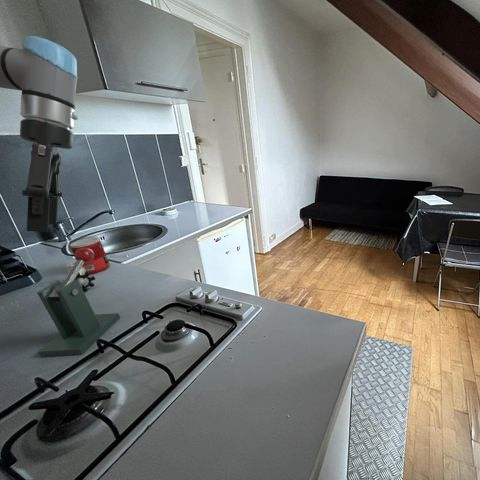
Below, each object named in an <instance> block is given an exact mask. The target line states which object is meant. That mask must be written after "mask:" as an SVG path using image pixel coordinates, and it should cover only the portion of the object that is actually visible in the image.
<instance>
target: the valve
mask: <svg viewBox="0 0 480 480" xmlns="http://www.w3.org/2000/svg"><path fill="white" fill-rule="evenodd" d="M76 262H77V260H76V261H72V262H69V263H67V264H66V266H65V267H66V268H67V270H68V273H67V274H68V275H69V273H70V271H71V270H72V268H73V267H74V265H75V263H76ZM74 280H78V281H79V283H80V285H81V287H82V289H83V291H84V293H87V292H88V288H89V287H90V288H93V287H95V283H94V281H95V280H96V277H95V276H94V275H93V276H91V277H90V274H89V272H86V270H85V269H84V268H83V267H82V268H81V269H80V271H79V273H78V274H77V276H76V278H75V279H74ZM87 281H88V282H87ZM92 281H93V282H92ZM86 282H87V283H86ZM85 283H86V285H85Z"/></svg>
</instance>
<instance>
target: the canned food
mask: <svg viewBox="0 0 480 480" xmlns="http://www.w3.org/2000/svg"><path fill="white" fill-rule="evenodd" d="M69 248H70V250H71V252H72V254H73V256H74V255H75V252H76V251H77V250H78V249H81V248H89V249H91V250H92V251H93V252H94V258H93V259H92V260H91V261H90V262H86V263H84V264H83V266H82V267H83V268H84V269H85V270H86V272H89V275H93V274H98V273H101V272H103V271H106V270H107V269H108V268H110V266H111V265H110V264H111V263H110V261H109V258H108V256H107V254H106V251H105V249H104V246H103V244H102V241H101V239H100V238H99V237H95V236H94V237H86V238H82V239H77V240H76V241H73V242H72V243H70V244H69Z"/></svg>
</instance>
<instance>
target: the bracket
mask: <svg viewBox="0 0 480 480" xmlns="http://www.w3.org/2000/svg"><path fill="white" fill-rule="evenodd" d="M62 284H63V282H61V280H57V281H56V280H55V281H54V282H52V283H51V284H49V285H47V286H46V287H44V288H42V289H41V290H39V291H37V292H36V294H37V295H38V297H39V299H40V301H41V303H42V304H43V306H44V308H45V309H46V311H47V313H48V315H49V316H50V319H51V321H52V322H53V323H54V325H55V327H56V329H57V330H58V332H59V334H58V335H57V336H55V337H54V338H53V339H52V340H51V341H49V342H48V343H47V344H46V345H45V346H43V347H42V348H41V349H40V350H38V351H37V353H38V354H39V356H40V357H41V358H45V357H61V356H76V355H77V356H78V355H79V356H80V355H83V354H85V353H86V351H88V350H89V349H90V348H91V347H92V346H93V345H94V344H95V343H96V342H97V341H98V340H99V339H100V338H101V337H102V336H103V335H104V334H105V333H106V332H107V331H108V330H109V329H111V328H112V326H114V325H115V323H117V322H118V321H119V320H120V319H121V316H120V314H119V313H118V312H115V313H114V312H113V313H101V314H99V313H98V314H97V313H95V312H94V310H93V308H92V306H91V304H90V302H89V300H88V297H87V296H86V294H85V293H86V292H84V291H83V289H82V285H80V283H79V281H78V280H74V281H72V282H70V283H69V284H67V285H66V286H64V287H62V288H61V289H59V290H58V291H56V292H57V294H58V296H59V298H60V300H61V301H56V300H54V299H52V298H50V297H49V296H50V294H51V292H52V291H53V289H54V288H55V286H56V285H62Z"/></svg>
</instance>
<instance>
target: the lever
mask: <svg viewBox="0 0 480 480" xmlns="http://www.w3.org/2000/svg"><path fill="white" fill-rule="evenodd" d="M73 256H74V259H75V260H76V261H77V262H76V261H75V262H76V263H75V265H74V267H73V268H72V270H71V271H70V273H69V274H68V275H67V276H66V278H65V279H64V281H63V282H62V285H56V286H55V288H54V289H53V291H52V292H51V294H50V296H49V297H50V298H52V299H54V300H56V301H61V300H60V298H59V296H58V294H57V292H56V291H58V290H59V289H61V288H62V287H64V286H66V285H67V284H69V283H70V282H72V281H74V279H75V278H76V276H77V274H78V273H79V271H80V269H81V268H82V266H83V264H84V263H86V262H90V261H91V260H92V259H93V258H94V252H93V251H92V250H91V249H89V248H81V249H78V250H77V251H76V252H75V255H74V254H73Z"/></svg>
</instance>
